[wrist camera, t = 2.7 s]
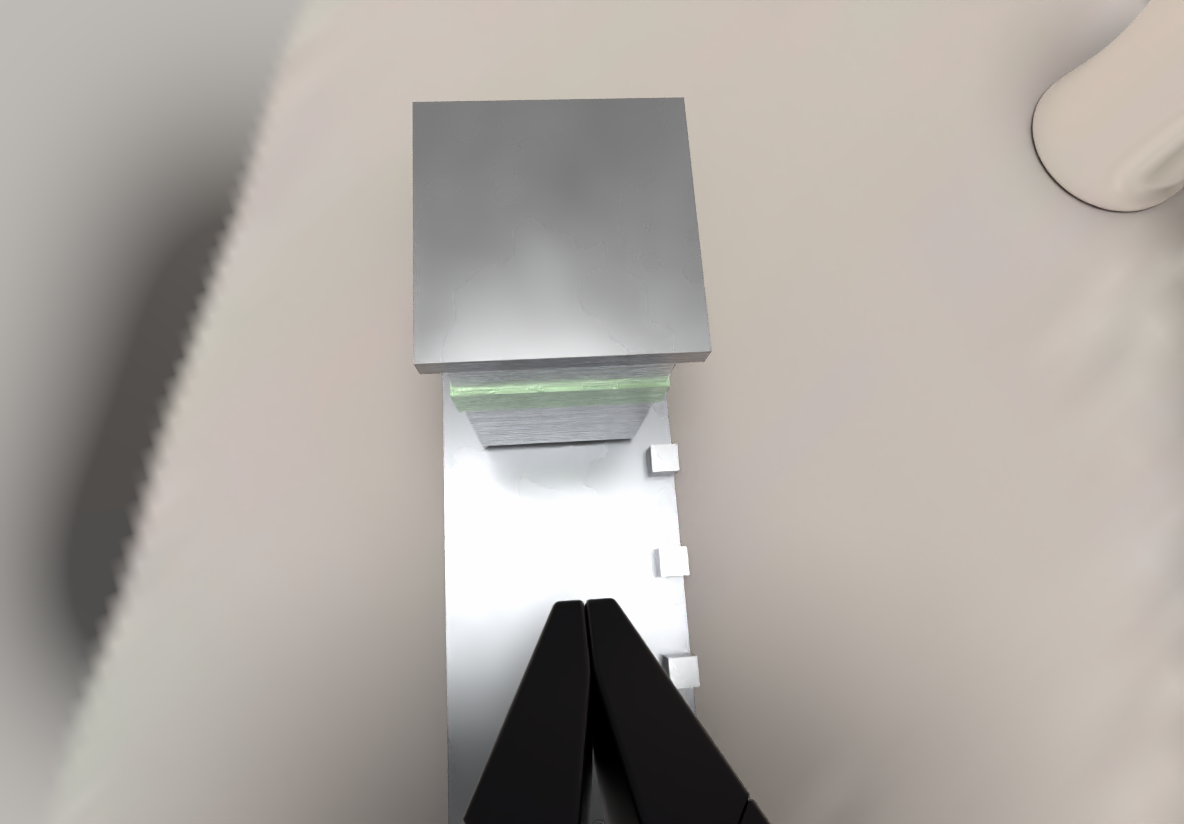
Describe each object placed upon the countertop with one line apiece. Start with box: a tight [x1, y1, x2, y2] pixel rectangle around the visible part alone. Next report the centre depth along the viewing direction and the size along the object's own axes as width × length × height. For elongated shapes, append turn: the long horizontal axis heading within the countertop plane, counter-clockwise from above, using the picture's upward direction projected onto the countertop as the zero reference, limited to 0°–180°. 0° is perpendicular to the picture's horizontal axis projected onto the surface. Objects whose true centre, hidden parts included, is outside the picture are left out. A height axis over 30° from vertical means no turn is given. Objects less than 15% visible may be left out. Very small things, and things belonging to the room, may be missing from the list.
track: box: [443, 373, 700, 824], centre depth 21 cm, size 24×7×4 cm, turn 4°
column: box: [413, 98, 711, 446], centre depth 17 cm, size 5×5×9 cm
